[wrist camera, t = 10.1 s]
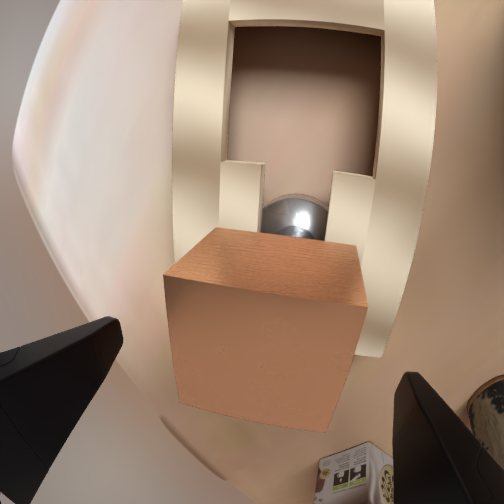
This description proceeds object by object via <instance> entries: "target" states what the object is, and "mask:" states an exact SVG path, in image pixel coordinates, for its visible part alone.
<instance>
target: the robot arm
mask: <svg viewBox="0 0 504 504" xmlns="http://www.w3.org/2000/svg"><path fill="white" fill-rule="evenodd" d="M122 344H123V335H122V330H121V325H120V322H119V320H118V319H116V318H113V317H109V316H107V317H104V318H101V319H98V320H95V321H92V322H90V323H87V324H84V325H81V326H78V327H75V328H72V329H69V330H67V331H64V332H61V333H58V334H55V335H52V336H49V337H47V338H44V339H41V340H38V341H35V342H32V343H29V344H26V345H23V346H21V347H17V348H14V349H11V350H8V351H5V352H2V353H0V494H1V493H3V494H4V495H5V496H6V497H7V498H9V499H10V500H11V501H12V502H14V503H15V504H30V503H31V501H32V499H33V497H34V496H35V494H36V492H37V490H38V488H39V487H40V485H41V483H42V481H43V480H44V478H45V476H46V474H47V473H48V471H49V468H50V467H51V465H52V463H53V462H54V460H55V458H56V457H57V455H58V453H59V452H60V450H61V448H62V447H63V445H64V443H65V442H66V440H67V438H68V437H69V435H70V433H71V431H72V430H73V429H74V427H75V425H76V424H77V422H78V420H79V419H80V417H81V415H82V414H83V412H84V411H85V409H86V408H87V406H88V404H89V403H90V401H91V400H92V398H93V397H94V395H95V394H96V392H97V390H98V389H99V387H100V386H101V384H102V383H103V381H104V379H105V378H106V376H107V374H108V372H109V370H110V368H111V366H112V364H113V362H114V360H115V358H116V356H117V354H118V353H119V351H120V349H121V347H122ZM392 444H393V477H394V499H393V504H504V469H503V468H502V467H501V466H500V465H499V464H498V463H497V462H496V461H495V459H494V458H493V457H492V456H491V455H490V454H489V452H488V451H487V450H486V449H485V448H484V446H482V444H481V443H480V442H479V441H478V439H477V438H476V437H475V436H474V435H473V434H472V432H471V431H470V430H469V429H468V428H467V427H466V425H465V424H464V423H463V422H462V421H461V420H460V418H459V417H458V416H457V415H456V414H455V413H454V412H453V410H452V409H451V408H450V407H449V406H448V405H447V404H446V402H445V401H444V400H443V399H442V398H441V397H440V396H439V395H438V393H437V392H436V391H435V390H434V389H433V388H432V387H431V386H430V385H429V383H428V382H427V381H426V380H425V379H424V378H423V377H422V376H421V375H420V374H419V373H418V372H405V373H404V375H403V377H402V379H401V381H400V383H399V385H398V387H397V389H396V391H395V396H394V419H393V439H392ZM481 446H482V447H481ZM0 504H1V501H0Z"/></svg>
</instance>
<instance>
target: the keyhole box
mask: <svg viewBox="0 0 504 504" xmlns="http://www.w3.org/2000/svg"><path fill="white" fill-rule="evenodd" d="M244 26H293V27H311V28H324V29H334V30H343V31H351V32H358V33H365V34H371V35H376V36H381V80H380V101H379V116H378V129H377V140H376V150H375V159H374V168H373V176H367V175H360V174H354V173H347V172H340V171H333V174H332V184H331V192H330V201H329V209H328V217H327V225H326V232H325V239H324V241H328V242H335V243H342V244H349V245H356V248H357V252H358V257H359V261H360V266H361V271H362V276H363V281H364V286H365V292H366V297H367V303H368V310H367V314H366V317H365V321H364V324H363V328H362V331H361V334H360V338H359V341H358V344H357V348H356V351H355V354H354V355H361V356H370V357H380V358H381V357H382V355H383V352H384V349H385V347H386V344H387V341H388V338H389V336H390V333H391V330H392V327H393V324H394V321H395V318H396V315H397V312H398V309H399V306H400V302H401V299H402V296H403V292H404V289H405V286H406V282H407V278H408V275H409V271H410V267H411V263H412V260H413V256H414V251H415V247H416V243H417V239H418V234H419V230H420V225H421V220H422V215H423V210H424V204H425V199H426V193H427V187H428V181H429V174H430V167H431V159H432V150H433V141H434V130H435V118H436V100H437V38H436V22H435V10H434V0H182V8H181V17H180V26H179V36H178V47H177V60H176V73H175V90H174V111H173V144H172V204H173V239H174V261H175V263H176V262H178V261H179V260H180V259H181V258H182V257H183V256H184V255H185V254H186V253H187V252H189V251H190V250H191V249H192V248H193V247H194V246H195V245H196V244H197V243H199V242H200V241H201V240H202V239H203V238H204V237H205V236H206V235H207V234H209V233H210V232H211V231H212V230H213V229H214V228H215V227H219V228H228V229H236V230H244V231H252V232H260V233H261V224H262V209H263V193H264V178H265V163H258V162H245V161H230V160H227V153H228V131H229V111H230V92H231V75H232V60H233V45H234V31H235V27H244Z"/></svg>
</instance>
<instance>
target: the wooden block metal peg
mask: <svg viewBox="0 0 504 504" xmlns="http://www.w3.org/2000/svg"><path fill="white" fill-rule="evenodd" d="M328 209H329V207H328V206H327V205H325V204H324V203H323V202H321V201H320V200H318V199H316V198H314V197H311V196H308V195H304V194H288V195H283V196H281V197H278V198H276V199H274V200H272V201H271V202H269V203H268V204H267V205H266V206H265V207H264V208H263V209H262V224H261V233H260V232H252V231H244V230H236V229H228V228H219V227H215V228H214V229H213V230H212V231H211V232H210V233H209V234H207V235H206V236H205V237H204V238H203V239H202V240H201V241H200V242H199V243H197V244H196V245H195V246H194V247H193V248H192V249H191V250H190V251H189V252H187V253H186V254H185V255H184V256H183V257H182V258H181V259H180V260H179V261H178V262H176V263H175V264H174V265H173V266H172V267H171V268H170V269H169V270H168V271H167V272H166V273H164V274H163V278H164V289H165V300H166V309H167V319H168V327H169V335H170V343H171V351H172V358H173V365H174V372H175V378H176V384H177V390H178V396H179V402H180V403H182V404H185V405H189V406H192V407H196V408H199V409H203V410H207V411H211V412H214V413H218V414H222V415H227V416H231V417H235V418H240V419H244V420H249V421H254V422H259V423H264V424H269V425H275V426H280V427H286V428H293V429H299V430H306V431H314V432H322V433H326V430H327V428H328V426H329V423H330V421H331V418H332V416H333V413H334V411H335V408H336V405H337V403H338V400H339V397H340V395H341V392H342V389H343V386H344V384H345V381H346V378H347V375H348V372H349V369H350V366H351V363H352V360H353V357H354V354H355V351H356V348H357V344H358V341H359V338H360V334H361V331H362V328H363V324H364V321H365V317H366V314H367V310H368V303H367V297H366V292H365V286H364V281H363V276H362V271H361V266H360V261H359V257H358V252H357V248H356V245H349V244H342V243H335V242H328V241H324V239H325V232H326V225H327V217H328Z"/></svg>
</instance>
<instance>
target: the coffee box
mask: <svg viewBox="0 0 504 504" xmlns="http://www.w3.org/2000/svg"><path fill="white" fill-rule="evenodd" d="M393 499H394V477H393V458H391V457H390V456H388V455H387V454H386V453H384V452H383V451H381V450H380V449H379V448H377V447H376V446H374V445H373V444H372V443H370V442H367V443H364V444H362V445H359V446H357V447H354V448H351V449H348V450H346V451H343V452H340V453H337V454H335V455H332V456H329V457H325V458H322V459H320V461H319V469H318V476H317V483H316V490H315V496H314V502H313V504H393Z"/></svg>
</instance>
